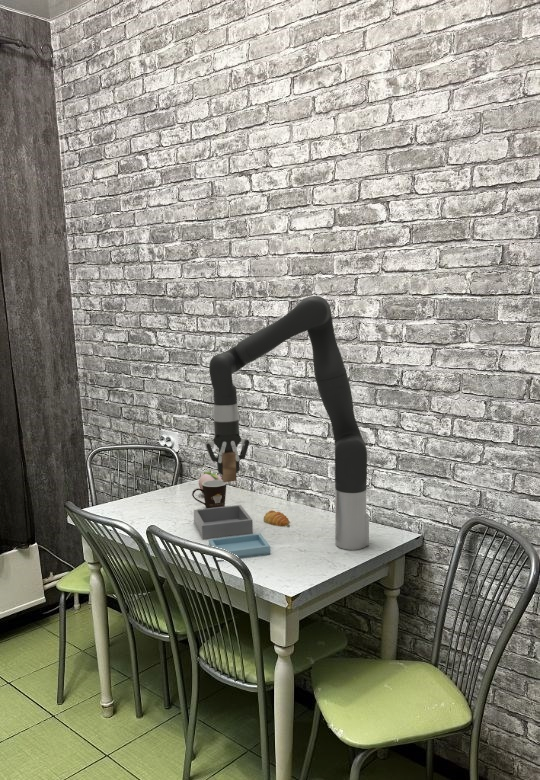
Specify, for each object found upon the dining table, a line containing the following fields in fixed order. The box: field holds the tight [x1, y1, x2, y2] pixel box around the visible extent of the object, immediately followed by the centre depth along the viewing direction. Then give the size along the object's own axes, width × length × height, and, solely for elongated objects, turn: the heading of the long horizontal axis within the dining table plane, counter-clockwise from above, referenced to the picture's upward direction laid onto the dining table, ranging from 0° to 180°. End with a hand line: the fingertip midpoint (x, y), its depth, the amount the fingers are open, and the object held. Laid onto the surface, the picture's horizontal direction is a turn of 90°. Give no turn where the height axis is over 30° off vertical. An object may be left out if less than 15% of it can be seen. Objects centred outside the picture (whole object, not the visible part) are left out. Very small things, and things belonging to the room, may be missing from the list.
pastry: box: [263, 509, 291, 528], centre depth 208 cm, size 9×7×4 cm
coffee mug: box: [191, 480, 228, 509], centre depth 222 cm, size 12×9×10 cm
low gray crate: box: [193, 504, 254, 541], centre depth 203 cm, size 16×16×5 cm
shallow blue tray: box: [208, 533, 271, 559], centre depth 186 cm, size 16×11×2 cm
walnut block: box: [220, 451, 238, 483], centre depth 194 cm, size 4×4×9 cm
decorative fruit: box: [198, 470, 222, 489], centre depth 239 cm, size 9×8×10 cm
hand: (228, 473), depth 194 cm, fingers closed on walnut block, 4 cm apart
